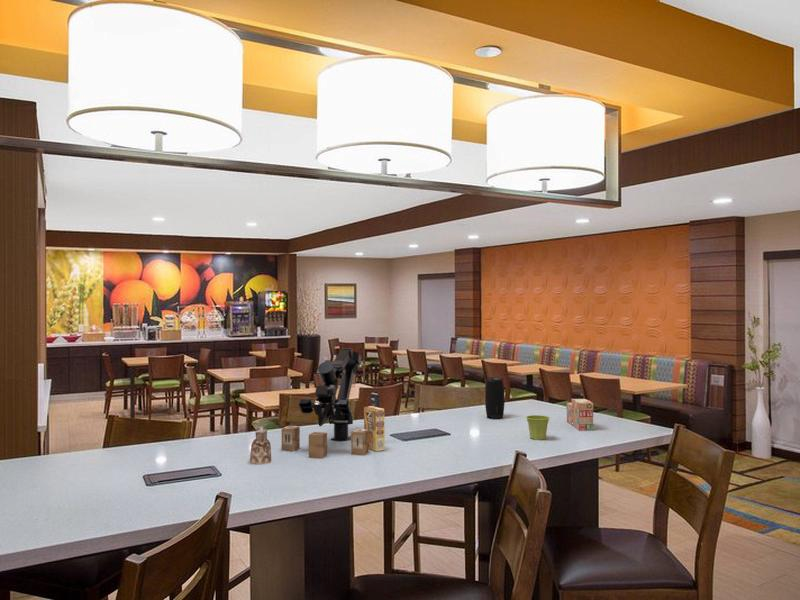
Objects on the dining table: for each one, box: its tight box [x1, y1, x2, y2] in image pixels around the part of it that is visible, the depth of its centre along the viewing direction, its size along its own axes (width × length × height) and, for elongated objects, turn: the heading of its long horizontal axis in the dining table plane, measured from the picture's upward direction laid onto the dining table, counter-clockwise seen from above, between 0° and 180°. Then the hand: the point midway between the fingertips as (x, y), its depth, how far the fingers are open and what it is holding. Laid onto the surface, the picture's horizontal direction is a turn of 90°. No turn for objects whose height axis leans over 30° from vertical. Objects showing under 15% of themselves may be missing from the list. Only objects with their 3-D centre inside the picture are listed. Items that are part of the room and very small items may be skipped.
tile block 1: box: [281, 425, 301, 452], centre depth 221 cm, size 5×5×8 cm
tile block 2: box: [350, 428, 370, 456], centre depth 215 cm, size 5×5×8 cm
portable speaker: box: [484, 376, 506, 420], centre depth 290 cm, size 9×9×20 cm
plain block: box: [308, 431, 328, 459], centre depth 210 cm, size 5×5×8 cm
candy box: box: [363, 405, 386, 452], centre depth 222 cm, size 9×4×15 cm, turn 33°
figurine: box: [249, 424, 272, 465], centre depth 202 cm, size 7×7×12 cm
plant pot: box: [525, 414, 551, 441], centre depth 241 cm, size 9×9×9 cm
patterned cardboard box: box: [565, 398, 594, 432], centre depth 268 cm, size 21×6×12 cm, turn 179°
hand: (320, 425), depth 213 cm, fingers closed
